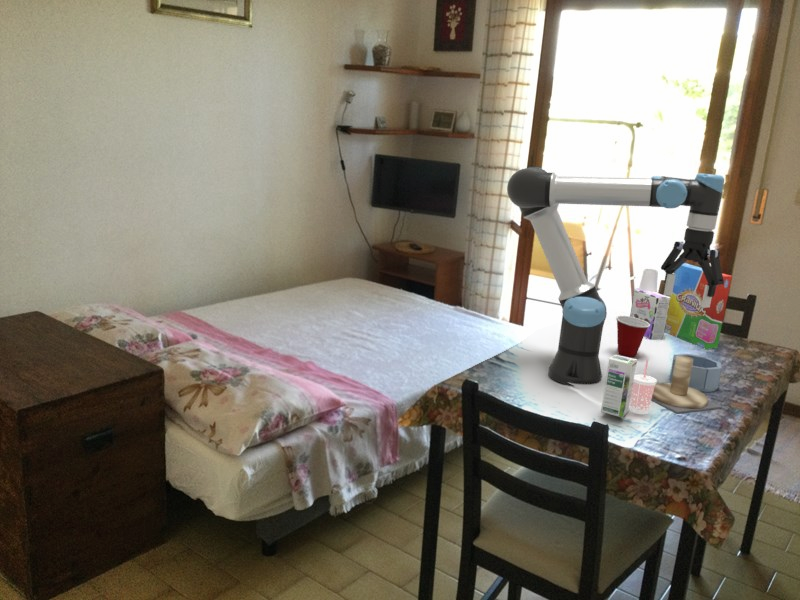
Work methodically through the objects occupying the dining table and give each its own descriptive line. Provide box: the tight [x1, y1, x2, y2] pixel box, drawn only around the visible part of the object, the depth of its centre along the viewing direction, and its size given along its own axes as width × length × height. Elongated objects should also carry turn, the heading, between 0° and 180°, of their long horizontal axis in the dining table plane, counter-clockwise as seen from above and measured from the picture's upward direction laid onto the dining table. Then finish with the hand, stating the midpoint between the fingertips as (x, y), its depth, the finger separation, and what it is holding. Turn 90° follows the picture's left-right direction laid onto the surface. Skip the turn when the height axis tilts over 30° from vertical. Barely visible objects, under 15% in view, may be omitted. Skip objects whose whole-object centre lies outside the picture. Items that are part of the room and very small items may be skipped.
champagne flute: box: [638, 268, 659, 293], centre depth 249 cm, size 7×7×24 cm
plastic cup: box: [615, 315, 650, 358], centre depth 222 cm, size 11×11×12 cm
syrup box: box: [600, 354, 638, 419], centre depth 172 cm, size 6×6×14 cm
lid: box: [652, 356, 709, 409], centre depth 184 cm, size 15×15×12 cm
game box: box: [664, 262, 733, 350], centre depth 240 cm, size 21×6×27 cm, turn 23°
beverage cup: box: [629, 359, 658, 415], centre depth 174 cm, size 6×6×14 cm
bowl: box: [669, 353, 723, 393], centre depth 199 cm, size 13×13×7 cm
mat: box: [651, 398, 723, 415], centre depth 186 cm, size 16×16×1 cm
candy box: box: [629, 287, 670, 340], centre depth 246 cm, size 14×6×16 cm, turn 16°
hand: (685, 301), depth 198 cm, fingers open, 13 cm apart
